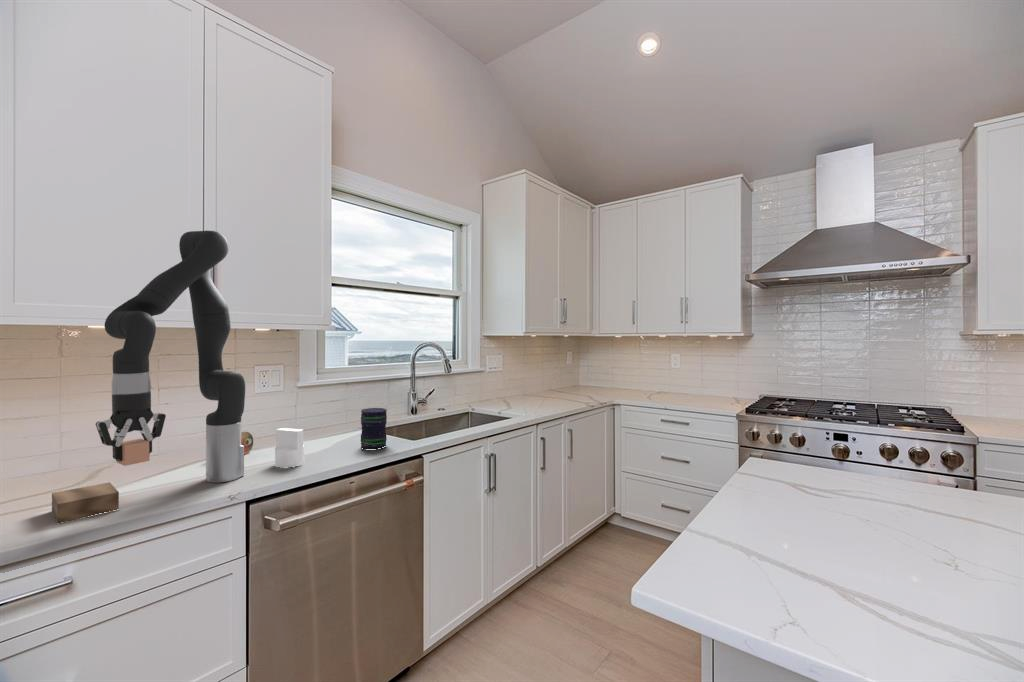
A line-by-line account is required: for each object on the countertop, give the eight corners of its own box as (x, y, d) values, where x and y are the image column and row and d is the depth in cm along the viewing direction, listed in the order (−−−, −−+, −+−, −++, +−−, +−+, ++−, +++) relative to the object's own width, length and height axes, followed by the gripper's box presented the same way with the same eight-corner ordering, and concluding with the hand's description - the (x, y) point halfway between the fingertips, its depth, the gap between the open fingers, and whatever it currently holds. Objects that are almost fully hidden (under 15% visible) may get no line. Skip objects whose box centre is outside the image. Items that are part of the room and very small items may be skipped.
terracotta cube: (140, 457, 118) (140, 438, 118) (149, 460, 116) (149, 441, 116) (116, 462, 114) (116, 442, 114) (125, 465, 111) (124, 445, 111)
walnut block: (109, 500, 123) (109, 482, 122) (118, 511, 116) (118, 492, 115) (51, 512, 114) (51, 492, 114) (57, 525, 107) (57, 504, 107)
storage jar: (379, 443, 188) (379, 407, 188) (391, 447, 181) (391, 410, 181) (356, 447, 182) (356, 409, 181) (367, 452, 174) (367, 413, 174)
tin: (221, 462, 158) (221, 438, 158) (213, 462, 158) (213, 438, 158) (254, 451, 172) (254, 429, 172) (246, 451, 173) (247, 429, 173)
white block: (268, 467, 154) (268, 431, 153) (287, 459, 162) (288, 426, 162) (291, 469, 152) (291, 433, 151) (309, 461, 160) (309, 427, 160)
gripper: (158, 386, 122) (159, 449, 123) (88, 393, 110) (89, 462, 111) (171, 388, 118) (172, 453, 119) (100, 395, 106) (102, 468, 107)
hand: (132, 457), depth 115 cm, fingers closed on terracotta cube, 5 cm apart
